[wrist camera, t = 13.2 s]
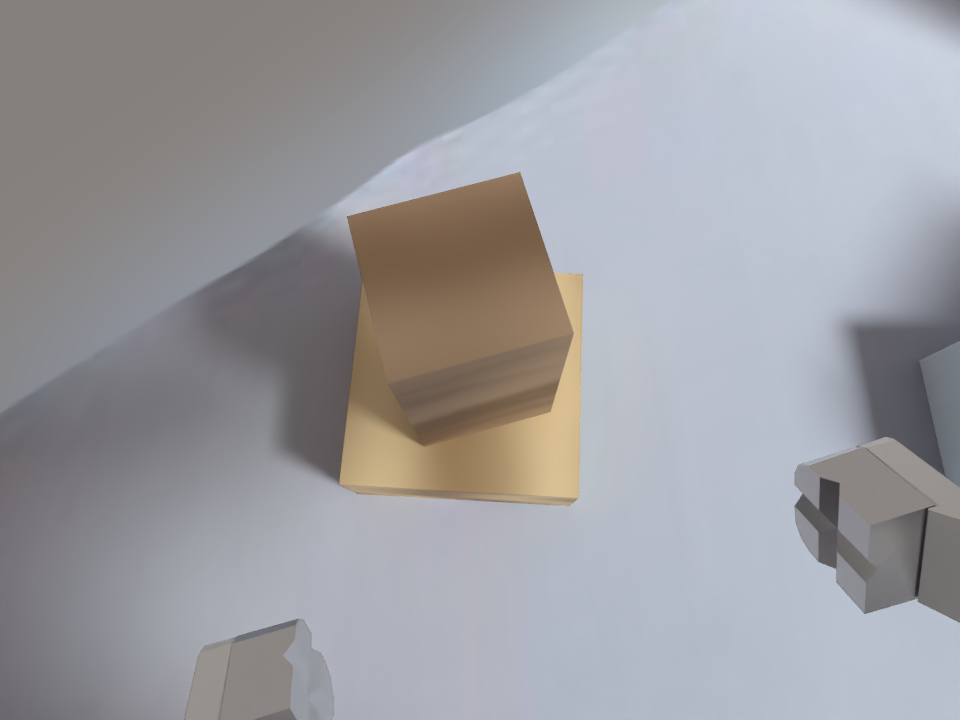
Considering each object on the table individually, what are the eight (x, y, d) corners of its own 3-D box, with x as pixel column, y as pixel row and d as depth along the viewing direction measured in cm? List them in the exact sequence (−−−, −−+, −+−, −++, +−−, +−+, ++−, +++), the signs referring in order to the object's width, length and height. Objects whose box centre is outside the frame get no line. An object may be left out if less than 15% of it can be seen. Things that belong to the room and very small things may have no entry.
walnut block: (550, 412, 27) (574, 333, 18) (424, 446, 26) (387, 383, 18) (514, 296, 28) (520, 172, 19) (394, 327, 28) (346, 216, 19)
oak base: (572, 309, 32) (582, 274, 28) (568, 506, 30) (578, 497, 26) (380, 300, 32) (364, 264, 29) (359, 494, 30) (339, 484, 26)
